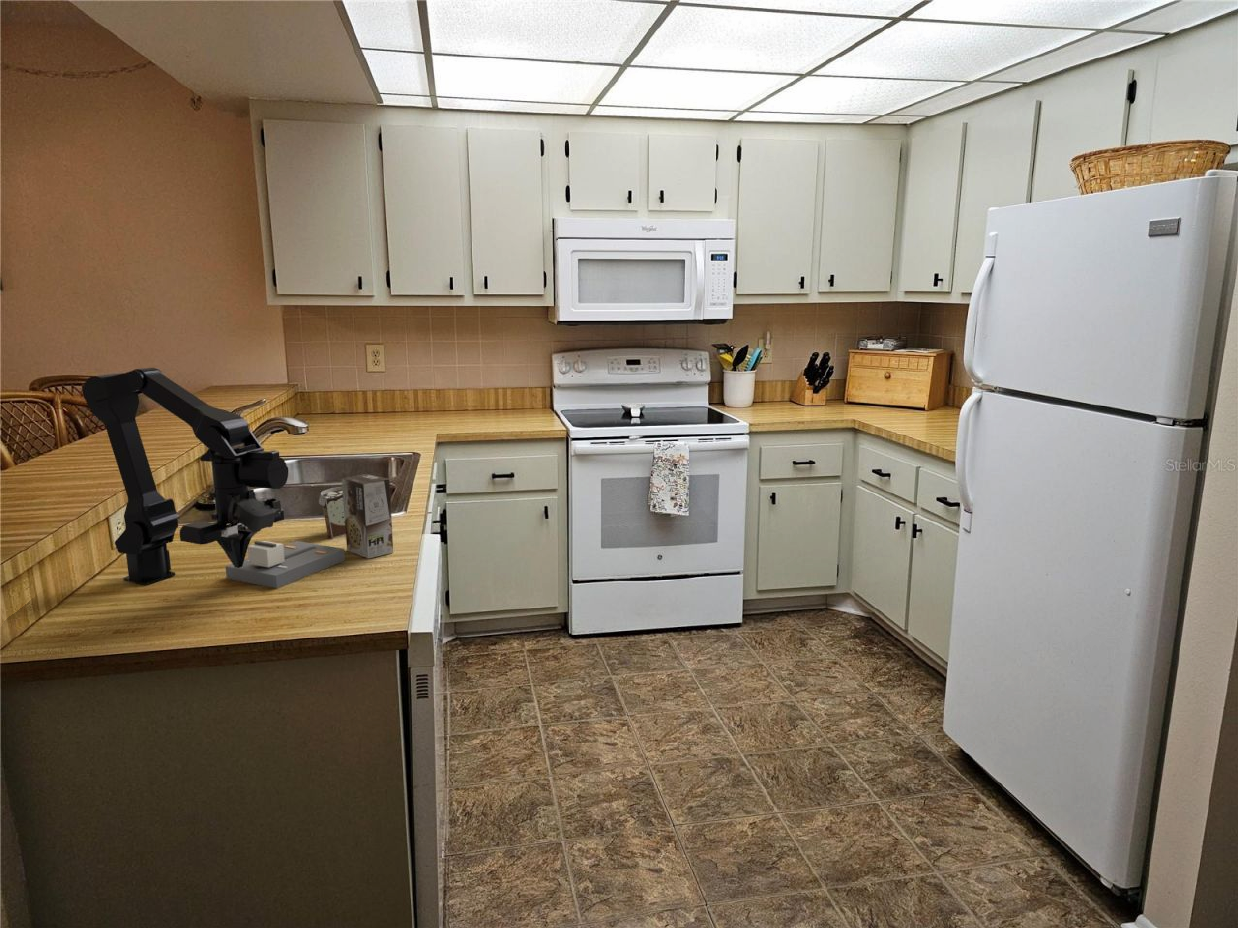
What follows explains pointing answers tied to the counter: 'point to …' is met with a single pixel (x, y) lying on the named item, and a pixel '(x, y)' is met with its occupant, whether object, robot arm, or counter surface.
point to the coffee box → (367, 515)
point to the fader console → (288, 565)
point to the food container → (333, 511)
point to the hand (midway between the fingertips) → (238, 567)
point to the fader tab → (265, 553)
